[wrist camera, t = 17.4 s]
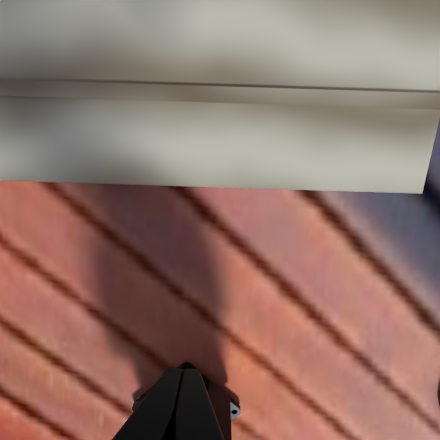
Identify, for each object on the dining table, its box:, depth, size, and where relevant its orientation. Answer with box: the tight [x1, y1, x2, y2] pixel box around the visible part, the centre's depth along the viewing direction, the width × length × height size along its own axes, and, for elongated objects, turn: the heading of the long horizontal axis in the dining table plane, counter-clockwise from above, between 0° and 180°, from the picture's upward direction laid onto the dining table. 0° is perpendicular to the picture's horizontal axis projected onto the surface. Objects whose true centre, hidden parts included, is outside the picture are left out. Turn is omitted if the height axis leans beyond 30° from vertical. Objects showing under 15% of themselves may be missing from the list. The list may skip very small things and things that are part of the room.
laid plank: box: [0, 0, 440, 193], centre depth 17 cm, size 10×28×2 cm, turn 88°
